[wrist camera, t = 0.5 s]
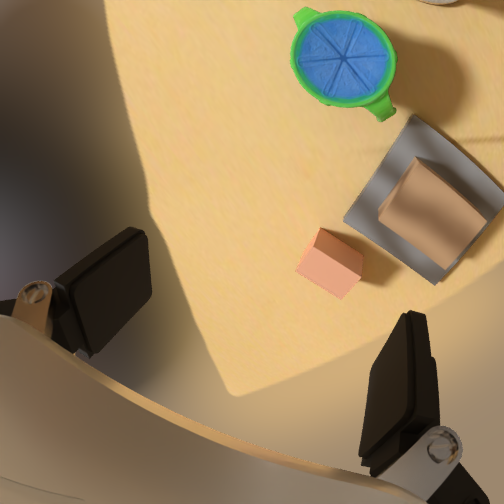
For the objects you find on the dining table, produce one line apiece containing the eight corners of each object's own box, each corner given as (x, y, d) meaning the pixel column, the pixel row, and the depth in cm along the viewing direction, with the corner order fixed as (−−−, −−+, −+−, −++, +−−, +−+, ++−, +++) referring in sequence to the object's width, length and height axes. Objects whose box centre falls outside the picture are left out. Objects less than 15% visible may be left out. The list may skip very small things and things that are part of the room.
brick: (320, 227, 45) (313, 246, 40) (363, 255, 45) (361, 277, 40) (304, 250, 48) (295, 271, 43) (345, 276, 48) (341, 299, 43)
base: (412, 113, 32) (419, 117, 28) (505, 194, 31) (519, 209, 27) (343, 217, 43) (339, 234, 38) (433, 280, 42) (438, 301, 38)
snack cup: (282, 38, 33) (255, 24, 25) (347, 1, 27) (340, -25, 19) (346, 134, 37) (339, 147, 29) (414, 101, 31) (429, 105, 23)
